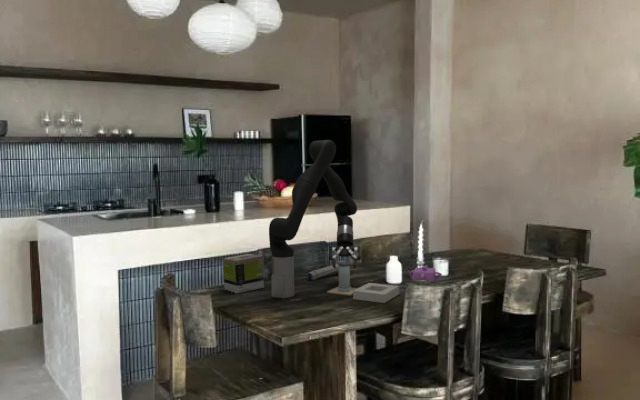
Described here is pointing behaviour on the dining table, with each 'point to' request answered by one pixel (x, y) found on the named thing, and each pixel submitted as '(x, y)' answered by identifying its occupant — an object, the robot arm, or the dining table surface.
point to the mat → (335, 291)
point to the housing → (376, 292)
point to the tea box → (243, 273)
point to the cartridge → (344, 276)
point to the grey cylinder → (322, 272)
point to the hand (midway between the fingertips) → (344, 267)
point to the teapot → (425, 274)
